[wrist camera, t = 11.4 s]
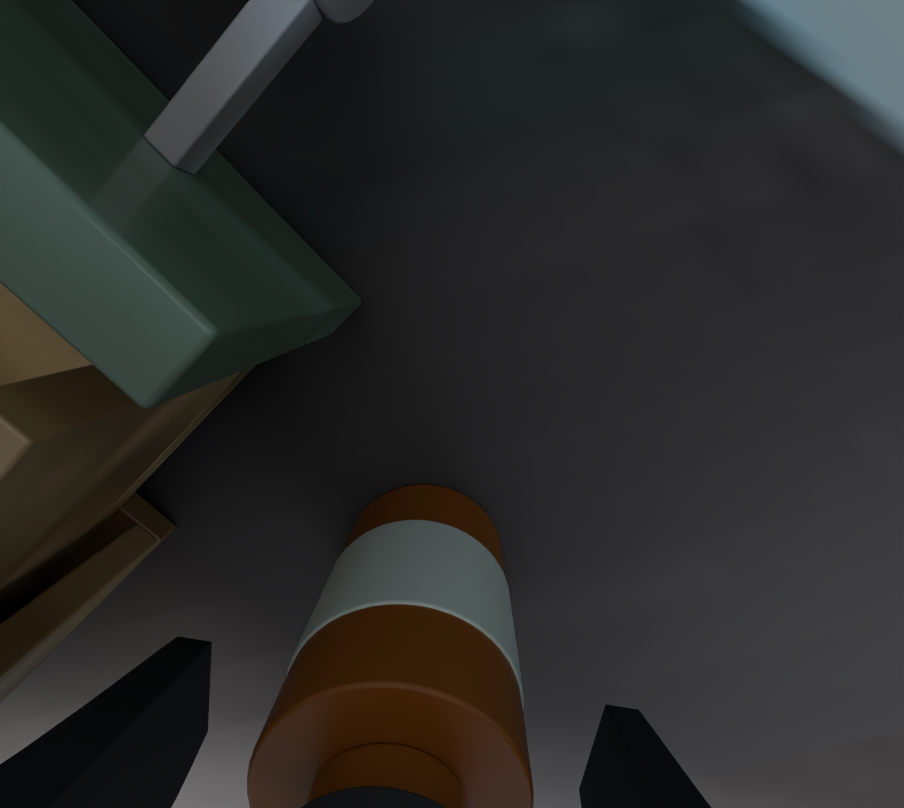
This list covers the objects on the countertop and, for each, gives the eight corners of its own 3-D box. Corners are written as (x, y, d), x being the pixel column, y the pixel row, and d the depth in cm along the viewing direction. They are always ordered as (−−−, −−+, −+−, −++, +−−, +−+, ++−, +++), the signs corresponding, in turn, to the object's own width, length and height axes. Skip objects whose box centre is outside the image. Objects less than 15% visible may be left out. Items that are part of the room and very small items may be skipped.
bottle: (340, 606, 14) (173, 1045, 6) (357, 469, 13) (180, 782, 5) (487, 630, 14) (517, 1095, 6) (516, 496, 13) (601, 848, 5)
